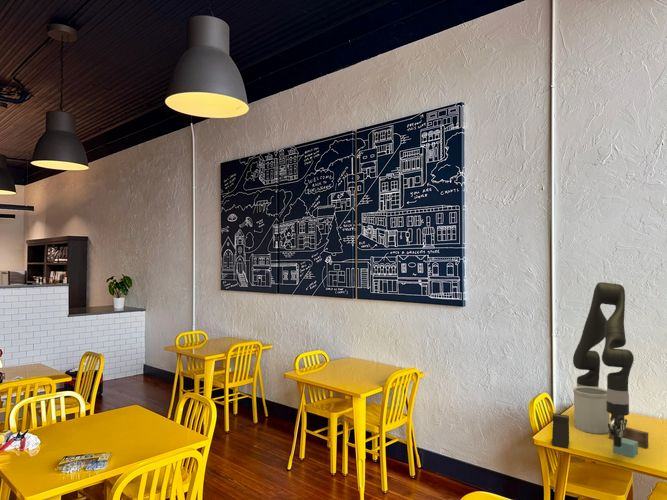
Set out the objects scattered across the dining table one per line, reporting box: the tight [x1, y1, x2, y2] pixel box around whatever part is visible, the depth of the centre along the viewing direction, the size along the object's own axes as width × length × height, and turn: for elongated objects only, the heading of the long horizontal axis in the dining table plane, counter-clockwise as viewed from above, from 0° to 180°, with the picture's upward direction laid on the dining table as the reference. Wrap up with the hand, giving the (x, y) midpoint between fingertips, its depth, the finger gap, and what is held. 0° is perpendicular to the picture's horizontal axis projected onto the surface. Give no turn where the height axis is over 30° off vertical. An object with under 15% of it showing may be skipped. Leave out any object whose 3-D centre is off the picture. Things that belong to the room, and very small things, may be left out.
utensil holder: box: [572, 386, 611, 435], centre depth 216 cm, size 15×15×18 cm
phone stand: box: [551, 412, 570, 449], centre depth 197 cm, size 9×6×12 cm, turn 150°
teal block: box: [612, 438, 639, 459], centre depth 188 cm, size 7×6×5 cm
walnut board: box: [608, 426, 649, 450], centre depth 199 cm, size 14×2×6 cm, turn 39°
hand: (617, 446), depth 183 cm, fingers closed
